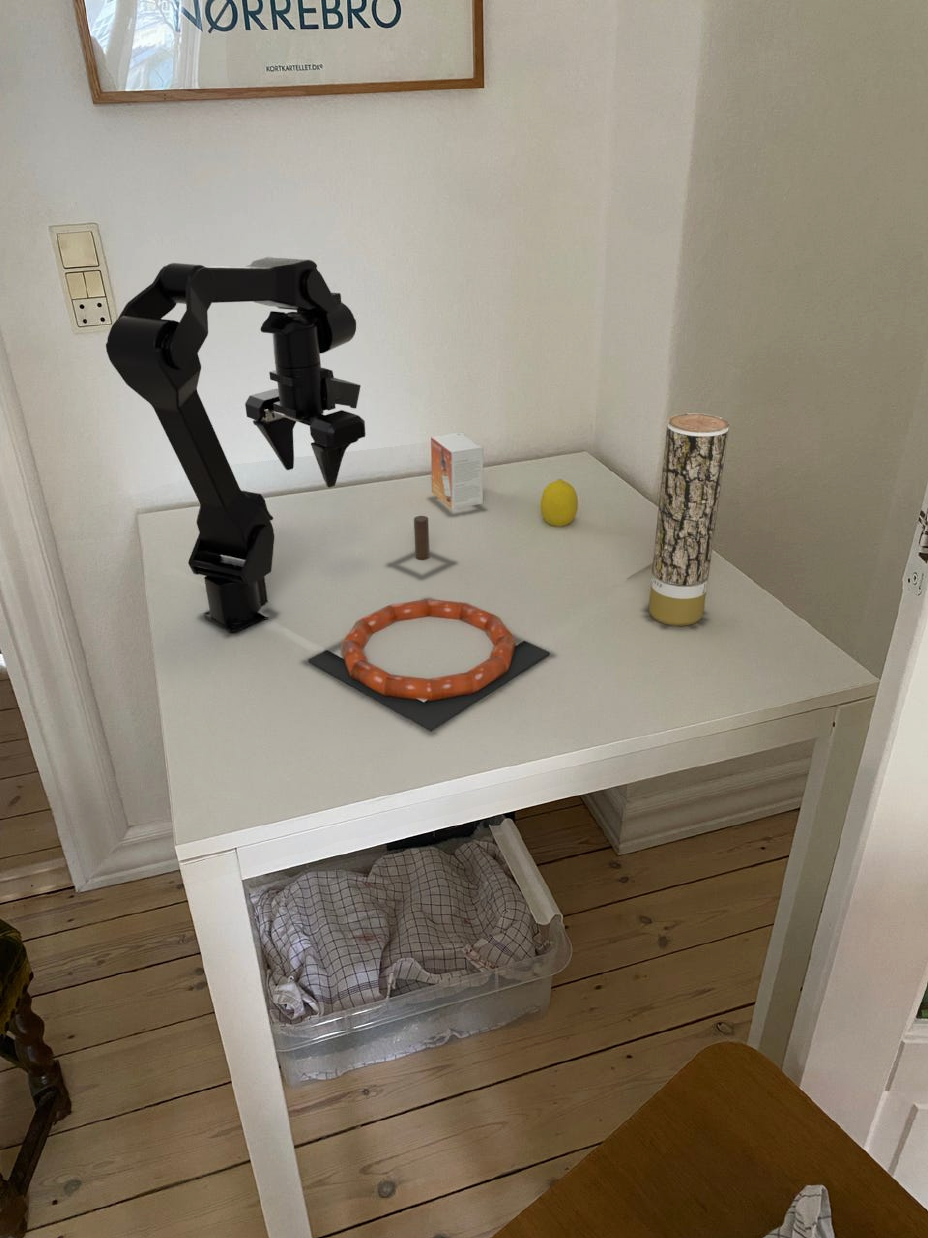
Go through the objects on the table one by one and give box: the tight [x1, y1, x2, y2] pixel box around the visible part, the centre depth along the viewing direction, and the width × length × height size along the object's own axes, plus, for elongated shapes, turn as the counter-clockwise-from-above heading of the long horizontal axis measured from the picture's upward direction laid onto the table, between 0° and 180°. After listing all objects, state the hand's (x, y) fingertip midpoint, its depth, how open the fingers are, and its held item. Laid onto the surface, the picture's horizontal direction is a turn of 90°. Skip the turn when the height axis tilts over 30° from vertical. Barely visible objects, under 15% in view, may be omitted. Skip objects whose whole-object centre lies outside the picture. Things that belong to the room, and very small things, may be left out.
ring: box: [340, 598, 517, 701], centre depth 107 cm, size 20×20×2 cm
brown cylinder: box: [413, 515, 431, 561], centre depth 128 cm, size 6×6×7 cm
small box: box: [430, 431, 485, 510], centre depth 145 cm, size 8×6×10 cm
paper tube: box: [648, 412, 730, 627], centre depth 110 cm, size 7×7×25 cm
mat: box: [307, 640, 550, 732], centre depth 108 cm, size 20×20×1 cm
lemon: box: [539, 478, 579, 528], centre depth 137 cm, size 6×6×8 cm
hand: (310, 477), depth 125 cm, fingers open, 9 cm apart
